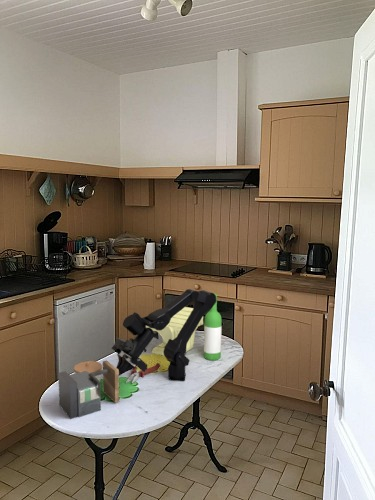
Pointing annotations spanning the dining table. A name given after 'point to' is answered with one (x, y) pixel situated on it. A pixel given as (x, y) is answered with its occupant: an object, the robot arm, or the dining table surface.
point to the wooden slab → (108, 381)
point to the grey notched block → (78, 394)
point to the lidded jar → (88, 367)
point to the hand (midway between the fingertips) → (114, 376)
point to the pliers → (142, 373)
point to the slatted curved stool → (175, 330)
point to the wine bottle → (212, 334)
